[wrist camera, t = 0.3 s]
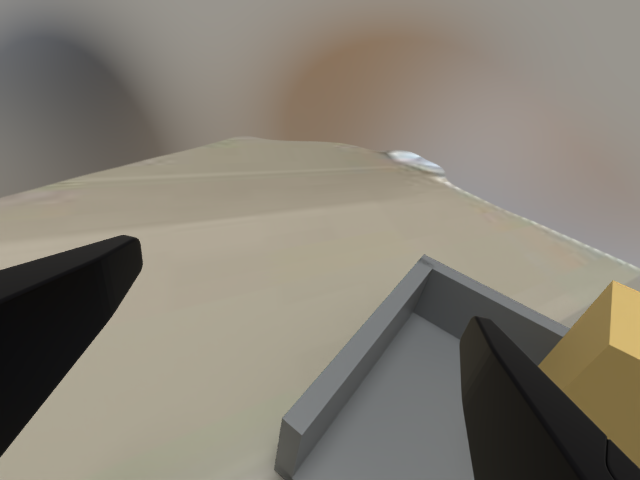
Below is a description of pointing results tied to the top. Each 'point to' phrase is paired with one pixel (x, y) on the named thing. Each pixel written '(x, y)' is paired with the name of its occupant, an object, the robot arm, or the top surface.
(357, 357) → the open box
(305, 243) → the top surface
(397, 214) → the top surface
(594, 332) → the ochre block
